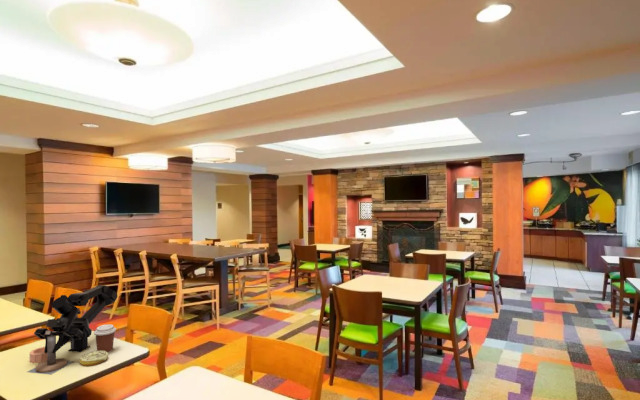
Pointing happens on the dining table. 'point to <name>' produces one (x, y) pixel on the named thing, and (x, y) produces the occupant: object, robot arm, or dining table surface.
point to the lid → (51, 358)
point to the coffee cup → (105, 337)
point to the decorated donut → (93, 358)
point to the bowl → (38, 355)
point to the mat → (52, 371)
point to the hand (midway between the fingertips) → (49, 352)
